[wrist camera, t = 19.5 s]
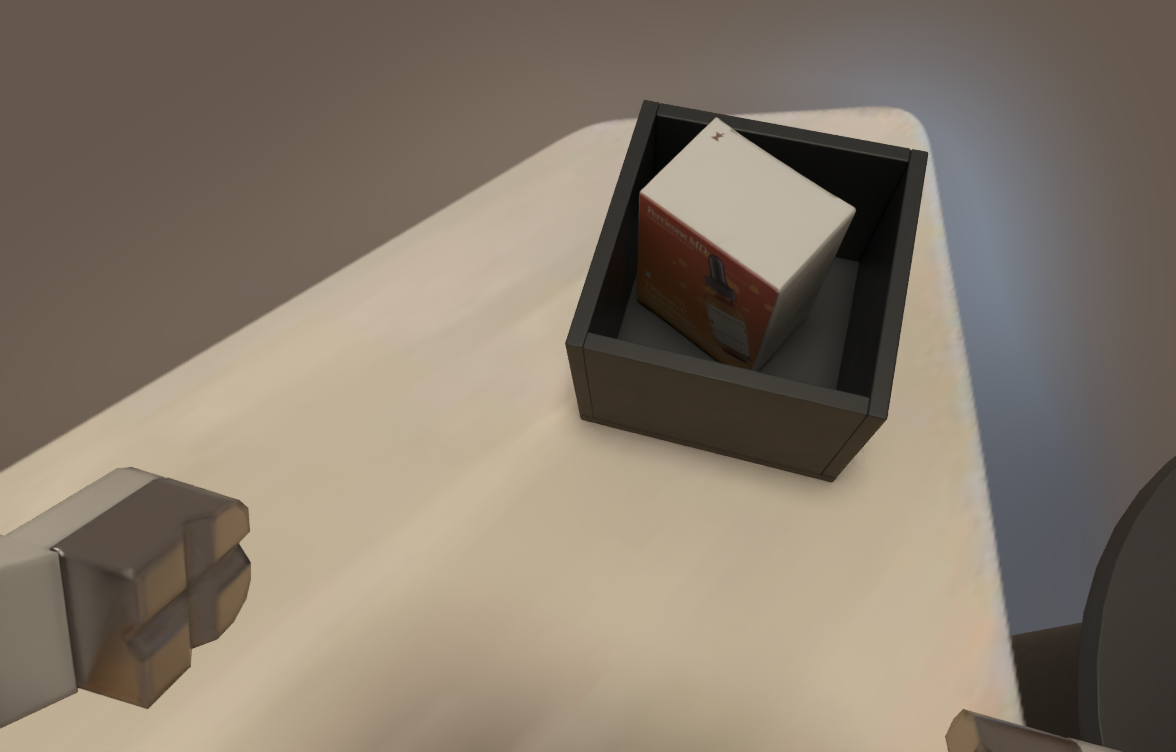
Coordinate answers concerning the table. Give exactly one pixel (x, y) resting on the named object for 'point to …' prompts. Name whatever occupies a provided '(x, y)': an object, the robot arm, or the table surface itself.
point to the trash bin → (805, 360)
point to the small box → (735, 246)
